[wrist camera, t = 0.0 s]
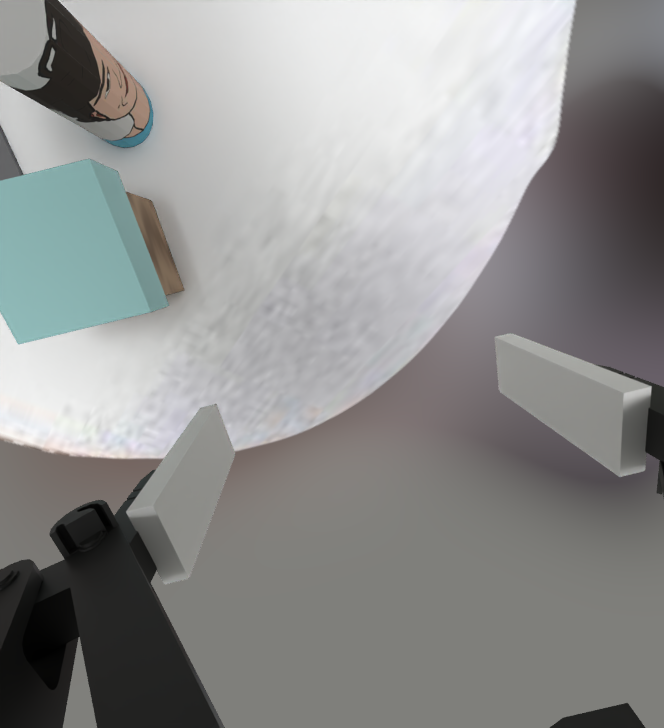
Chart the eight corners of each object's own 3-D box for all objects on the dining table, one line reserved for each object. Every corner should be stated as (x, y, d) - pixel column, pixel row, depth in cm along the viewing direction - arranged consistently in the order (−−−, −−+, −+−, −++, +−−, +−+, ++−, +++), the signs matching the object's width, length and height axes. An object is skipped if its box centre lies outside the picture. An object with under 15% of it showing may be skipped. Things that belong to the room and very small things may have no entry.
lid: (-3, 206, 31) (-63, 196, 26) (124, 174, 31) (89, 158, 26) (60, 331, 34) (18, 344, 29) (173, 304, 34) (151, 311, 29)
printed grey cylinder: (156, 150, 36) (56, 80, 22) (90, 145, 35) (-58, 69, 21) (149, 73, 34) (34, -59, 20) (79, 67, 33) (-93, -75, 19)
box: (64, 222, 37) (2, 213, 30) (151, 200, 37) (111, 186, 30) (103, 309, 40) (56, 322, 33) (184, 290, 40) (155, 298, 33)
